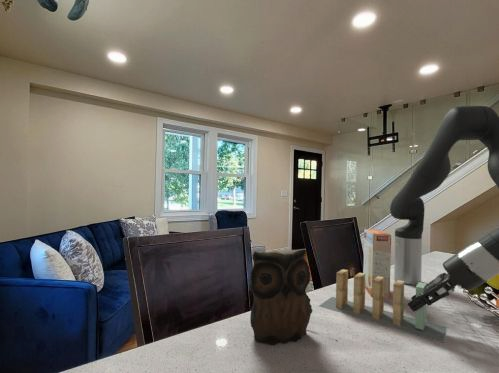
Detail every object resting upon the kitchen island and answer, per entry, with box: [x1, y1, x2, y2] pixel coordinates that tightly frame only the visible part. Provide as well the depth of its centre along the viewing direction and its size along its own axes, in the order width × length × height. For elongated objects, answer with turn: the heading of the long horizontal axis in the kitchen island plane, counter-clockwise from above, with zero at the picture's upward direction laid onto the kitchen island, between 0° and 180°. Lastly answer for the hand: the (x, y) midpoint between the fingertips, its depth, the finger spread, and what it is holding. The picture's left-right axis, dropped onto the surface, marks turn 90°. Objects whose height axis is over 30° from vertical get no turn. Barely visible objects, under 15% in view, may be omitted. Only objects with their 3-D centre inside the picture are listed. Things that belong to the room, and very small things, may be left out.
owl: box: [249, 248, 313, 346], centre depth 65 cm, size 13×13×20 cm
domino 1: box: [335, 268, 349, 309], centre depth 82 cm, size 5×2×10 cm, turn 141°
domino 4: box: [392, 280, 405, 326], centre depth 73 cm, size 5×2×10 cm, turn 141°
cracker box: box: [362, 228, 392, 300], centre depth 96 cm, size 14×6×21 cm, turn 168°
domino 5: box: [415, 281, 427, 330], centre depth 70 cm, size 5×2×10 cm, turn 141°
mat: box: [318, 296, 448, 343], centre depth 76 cm, size 10×30×1 cm, turn 51°
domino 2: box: [352, 272, 366, 314], centre depth 79 cm, size 5×2×10 cm, turn 141°
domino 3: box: [371, 276, 385, 320], centre depth 76 cm, size 5×2×10 cm, turn 141°
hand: (412, 304), depth 71 cm, fingers closed on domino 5, 4 cm apart
